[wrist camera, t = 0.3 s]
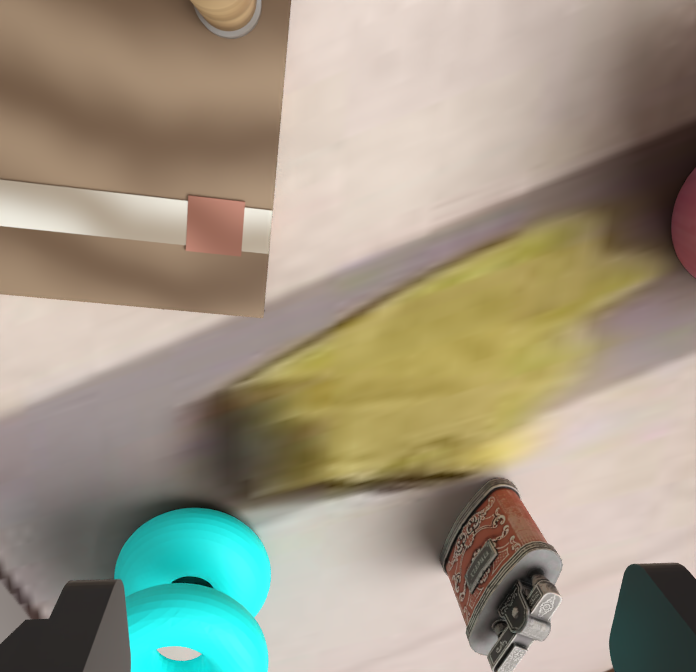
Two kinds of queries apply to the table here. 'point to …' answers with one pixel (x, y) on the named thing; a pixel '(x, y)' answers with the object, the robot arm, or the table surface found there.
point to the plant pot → (685, 224)
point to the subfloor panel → (138, 154)
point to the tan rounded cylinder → (228, 16)
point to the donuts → (195, 592)
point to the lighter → (501, 575)
